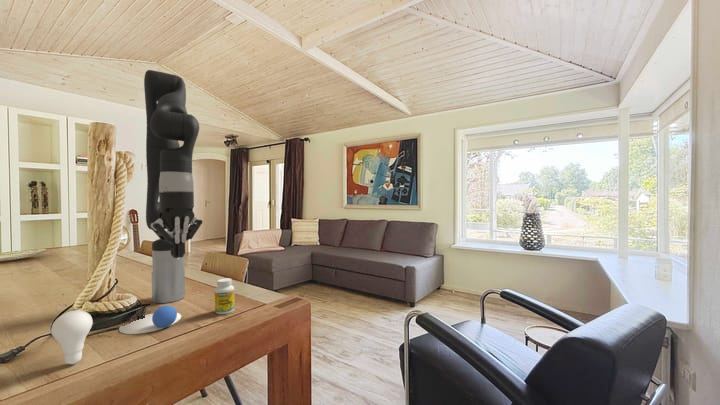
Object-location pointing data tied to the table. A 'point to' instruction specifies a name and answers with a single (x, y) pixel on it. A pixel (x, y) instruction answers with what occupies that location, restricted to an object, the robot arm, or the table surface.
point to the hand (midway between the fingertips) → (178, 257)
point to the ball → (164, 316)
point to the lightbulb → (72, 333)
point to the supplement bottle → (224, 296)
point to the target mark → (143, 325)
